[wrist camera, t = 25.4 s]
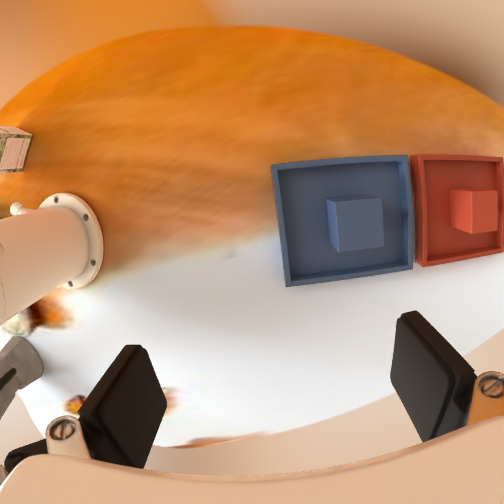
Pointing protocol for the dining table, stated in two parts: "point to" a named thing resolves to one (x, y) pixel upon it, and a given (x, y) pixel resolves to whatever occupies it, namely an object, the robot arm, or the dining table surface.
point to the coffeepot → (17, 369)
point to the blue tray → (315, 216)
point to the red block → (474, 209)
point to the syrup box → (13, 148)
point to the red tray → (438, 206)
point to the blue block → (355, 222)
